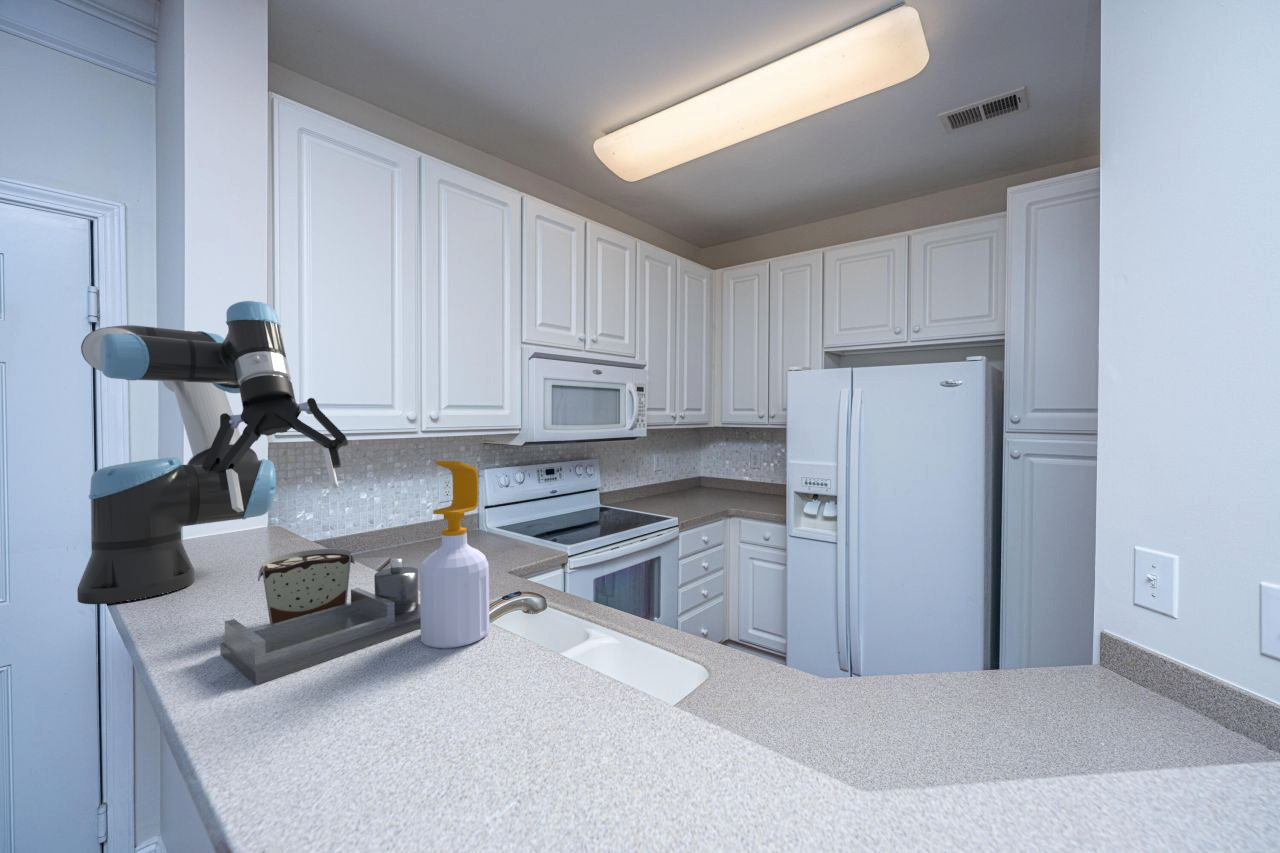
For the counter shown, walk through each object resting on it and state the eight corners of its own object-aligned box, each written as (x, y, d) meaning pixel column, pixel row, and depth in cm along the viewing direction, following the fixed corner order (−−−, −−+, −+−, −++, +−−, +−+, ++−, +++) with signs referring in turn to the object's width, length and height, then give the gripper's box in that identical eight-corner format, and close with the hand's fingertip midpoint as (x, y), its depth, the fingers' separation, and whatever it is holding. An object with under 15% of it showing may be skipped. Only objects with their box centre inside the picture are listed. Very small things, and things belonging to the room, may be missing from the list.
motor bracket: (220, 654, 67) (219, 585, 67) (394, 603, 86) (393, 549, 85) (256, 685, 59) (254, 606, 59) (439, 621, 78) (438, 561, 78)
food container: (344, 604, 86) (343, 543, 85) (355, 614, 81) (354, 550, 81) (251, 625, 77) (250, 558, 77) (259, 637, 73) (257, 566, 72)
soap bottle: (405, 645, 70) (403, 462, 69) (449, 620, 78) (447, 457, 78) (463, 653, 67) (460, 463, 67) (501, 626, 76) (499, 458, 75)
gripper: (165, 388, 82) (182, 515, 77) (342, 360, 92) (368, 470, 87) (185, 407, 88) (203, 525, 83) (349, 379, 99) (374, 483, 94)
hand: (288, 497), depth 85 cm, fingers open, 13 cm apart
